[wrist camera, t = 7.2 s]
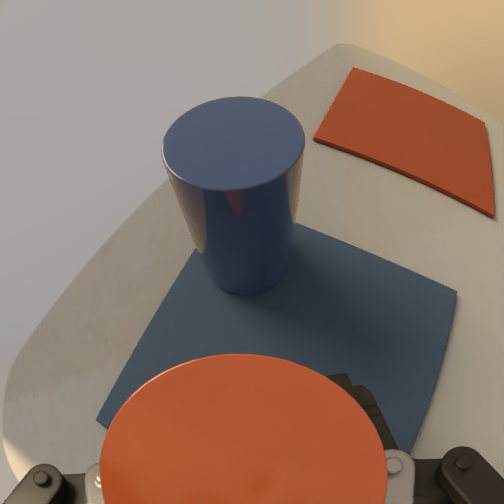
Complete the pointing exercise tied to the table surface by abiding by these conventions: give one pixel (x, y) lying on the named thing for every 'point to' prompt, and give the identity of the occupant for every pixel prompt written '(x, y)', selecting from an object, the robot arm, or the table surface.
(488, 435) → the table surface
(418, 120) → the terracotta mat
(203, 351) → the blue mat
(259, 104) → the blue canister
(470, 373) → the table surface
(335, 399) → the terracotta canister
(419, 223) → the table surface
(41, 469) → the robot arm
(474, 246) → the table surface
